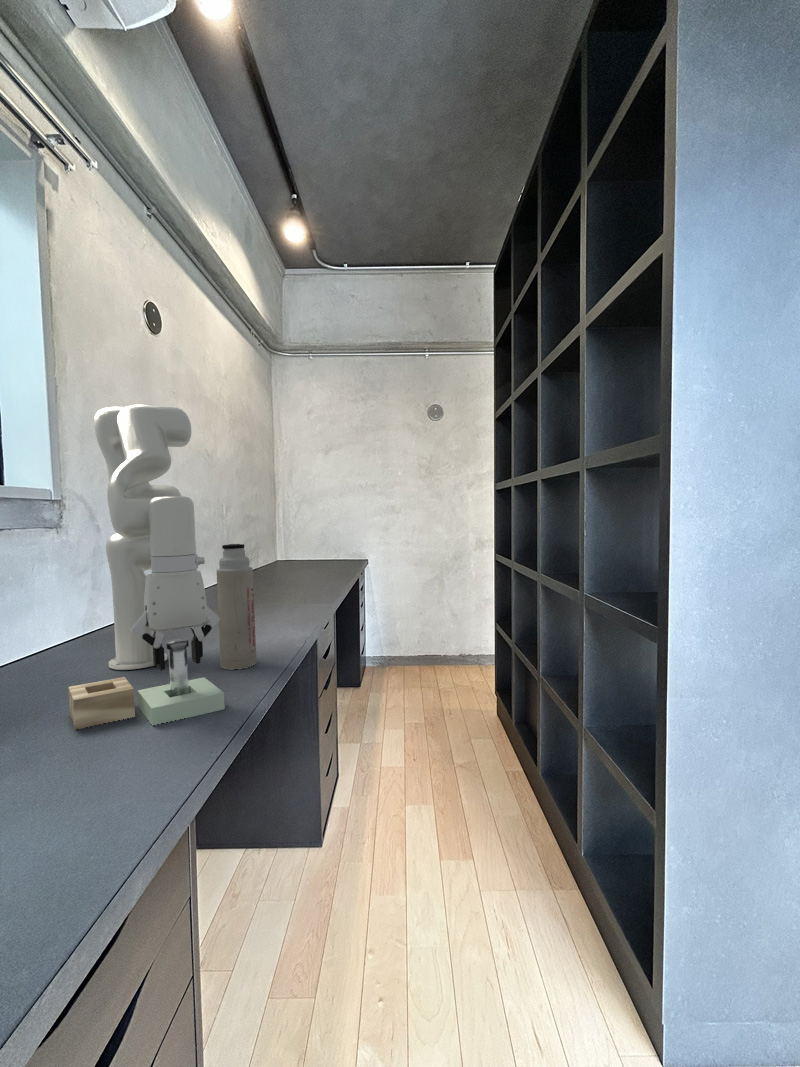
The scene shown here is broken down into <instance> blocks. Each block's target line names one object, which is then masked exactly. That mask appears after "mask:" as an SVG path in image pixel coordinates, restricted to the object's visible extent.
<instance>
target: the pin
mask: <svg viewBox="0 0 800 1067" xmlns="http://www.w3.org/2000/svg"><path fill="white" fill-rule="evenodd" d="M189 643H190V642H189V639H188V638H176V639H170V640H167V641H165V649H166V650H168V665H169V666H168V667H169V684H170V689H171V697H175V696H180V695H184V694H189V689H188V680H189V673H188V672H189V671H188V652H187V648H188V647H189V645H190V644H189Z"/></svg>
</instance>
